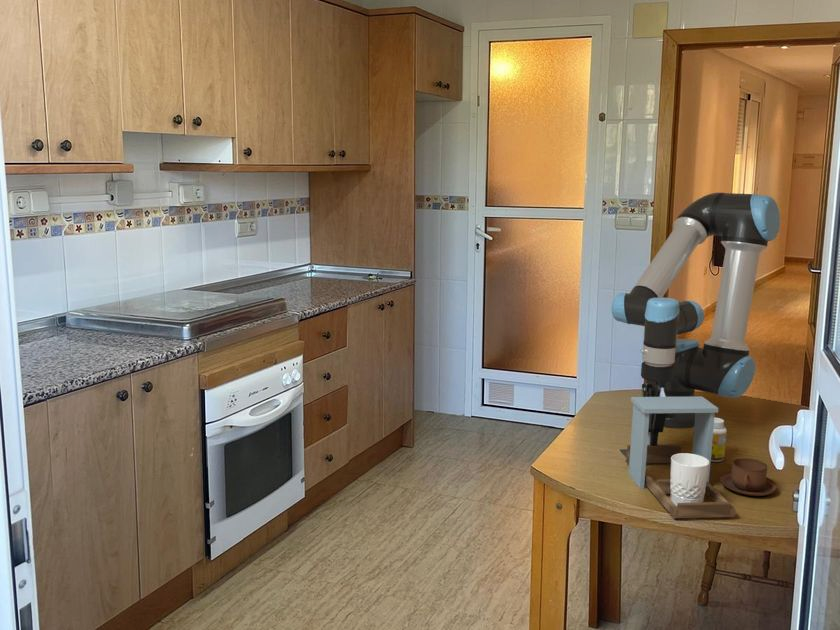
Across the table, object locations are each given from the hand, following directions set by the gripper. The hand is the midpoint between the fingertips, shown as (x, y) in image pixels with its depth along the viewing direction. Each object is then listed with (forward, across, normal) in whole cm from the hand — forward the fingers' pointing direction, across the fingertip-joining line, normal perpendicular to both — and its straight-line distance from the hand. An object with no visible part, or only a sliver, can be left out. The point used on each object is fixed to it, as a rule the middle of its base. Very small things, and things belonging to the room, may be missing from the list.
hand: (650, 455), depth 205 cm
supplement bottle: (+2, -2, +17) cm, 17 cm away
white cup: (+2, +23, 0) cm, 23 cm away
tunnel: (+2, +11, 0) cm, 11 cm away
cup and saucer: (+2, +16, +17) cm, 24 cm away
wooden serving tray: (+1, +16, 0) cm, 16 cm away
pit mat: (+2, -4, 0) cm, 4 cm away
